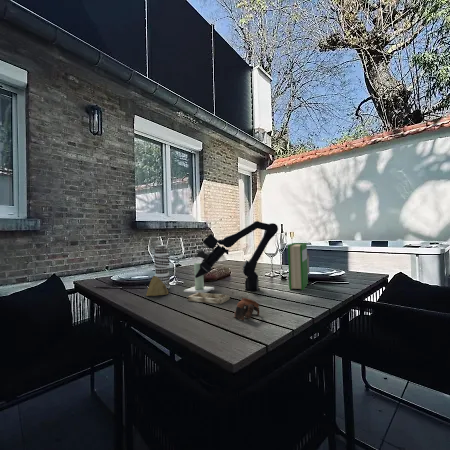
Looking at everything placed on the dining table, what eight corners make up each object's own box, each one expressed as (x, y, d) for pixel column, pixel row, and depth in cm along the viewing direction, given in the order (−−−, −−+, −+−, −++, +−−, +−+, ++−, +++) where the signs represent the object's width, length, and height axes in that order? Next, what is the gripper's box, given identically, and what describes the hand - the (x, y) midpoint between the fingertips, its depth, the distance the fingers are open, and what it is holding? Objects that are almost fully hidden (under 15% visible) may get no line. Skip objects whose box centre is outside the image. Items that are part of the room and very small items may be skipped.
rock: (173, 288, 157) (159, 284, 161) (168, 277, 152) (153, 274, 156) (162, 304, 150) (147, 300, 154) (156, 293, 145) (141, 289, 149)
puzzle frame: (229, 300, 138) (229, 295, 138) (220, 305, 129) (220, 299, 129) (198, 297, 145) (198, 292, 145) (188, 301, 137) (188, 296, 137)
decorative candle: (163, 290, 165) (161, 246, 165) (151, 288, 169) (149, 246, 169) (173, 286, 172) (172, 244, 173) (161, 285, 177) (160, 244, 177)
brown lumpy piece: (229, 316, 115) (237, 296, 118) (251, 325, 116) (257, 305, 119) (238, 317, 104) (245, 295, 107) (261, 327, 105) (268, 305, 107)
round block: (205, 288, 157) (204, 263, 157) (196, 290, 155) (196, 263, 155) (201, 287, 162) (200, 262, 162) (193, 288, 159) (192, 263, 159)
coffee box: (298, 277, 190) (297, 252, 190) (308, 277, 189) (308, 252, 189) (299, 280, 181) (298, 254, 181) (310, 280, 180) (309, 254, 180)
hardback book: (303, 290, 152) (301, 245, 153) (289, 289, 155) (287, 245, 155) (307, 284, 169) (306, 242, 169) (295, 283, 172) (293, 242, 172)
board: (214, 289, 161) (214, 287, 161) (203, 294, 150) (203, 291, 150) (195, 288, 166) (195, 285, 166) (184, 293, 156) (183, 290, 156)
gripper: (206, 243, 168) (187, 263, 168) (204, 246, 149) (183, 268, 149) (220, 257, 168) (201, 276, 168) (219, 260, 149) (199, 283, 149)
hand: (196, 275), depth 158 cm, fingers open, 9 cm apart
